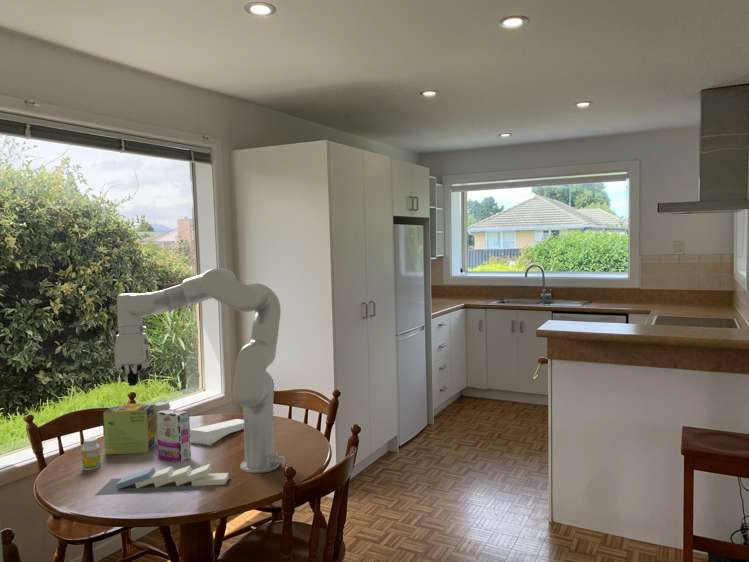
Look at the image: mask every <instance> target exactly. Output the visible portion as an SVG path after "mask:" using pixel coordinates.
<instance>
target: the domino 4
mask: <svg viewBox="0 0 749 562" xmlns="http://www.w3.org/2000/svg"><path fill="white" fill-rule="evenodd" d="M229 474H230V473H229V472H217V473H215V472H214V473H209V474H208V475H206V476H203V477H200V478H197V479H195V480H192V486H201V485H202V486H215V485H216V486H221V485H226V484H227V482H228V480H229V479H230V477H229ZM202 486H201V487H202Z"/></svg>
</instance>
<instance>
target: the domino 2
mask: <svg viewBox="0 0 749 562" xmlns="http://www.w3.org/2000/svg"><path fill="white" fill-rule="evenodd" d="M192 470H193V469H192V467H191V465H187V466H185V467H182V468H179V469H175V470H174V471H173V473H172V474H171V475H170V476H169V478H166V479H163V480H160V481H157V482H154V485H155V488H156V487H158V486H161V485H164V484H167V483H170V482H173V481H176V480H179V479H182V478H185V477H188V475H189V474H190V472H191V471H192Z"/></svg>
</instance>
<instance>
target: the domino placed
mask: <svg viewBox="0 0 749 562" xmlns="http://www.w3.org/2000/svg"><path fill="white" fill-rule="evenodd" d="M155 472H157V471H156V470H155V467H154V466H153V467H150V468H147V469H143V470H142V471H139V472H136V473H133V474H130V475H129V474H128V475H126V476H124V477H122V479H121V480H120V481H119V482H118V483H117V484H116V486H117V488H118V489H120V488H123V487H126V486H129V485H132V484H135V483H138V482H141V481H144V480H147V479H149V478H151V477H152V475H153V474H154V473H155Z"/></svg>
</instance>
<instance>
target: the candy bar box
mask: <svg viewBox="0 0 749 562" xmlns="http://www.w3.org/2000/svg"><path fill="white" fill-rule="evenodd" d="M156 416H157V458H158V460H159V459H160V460H165V461H169V462H171V461H172V462H174V461H175V462H179V463H180V462H183V461H188V460H191V459H192V453H191V452H192V451H191V443H190V429H191V428H190V427H191V426H190V412H189V411H185V410H177V409H176V410H175V409H171V408H169V409H165V410H162V411H159V412H156Z"/></svg>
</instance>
